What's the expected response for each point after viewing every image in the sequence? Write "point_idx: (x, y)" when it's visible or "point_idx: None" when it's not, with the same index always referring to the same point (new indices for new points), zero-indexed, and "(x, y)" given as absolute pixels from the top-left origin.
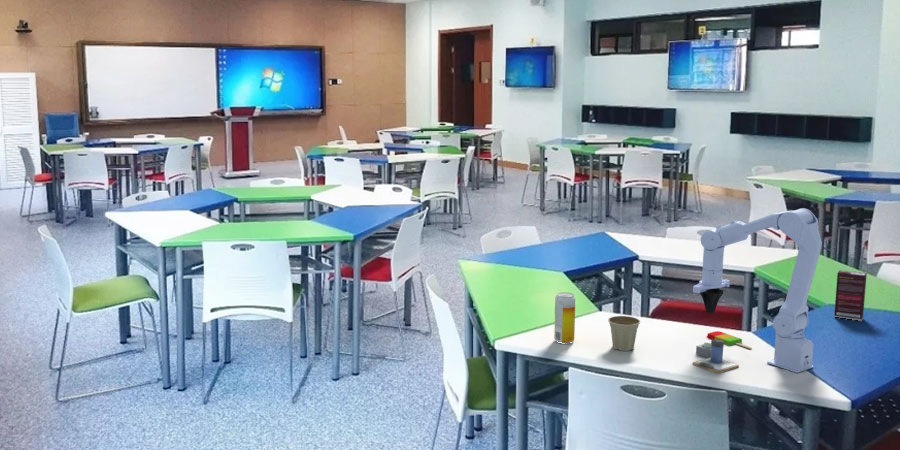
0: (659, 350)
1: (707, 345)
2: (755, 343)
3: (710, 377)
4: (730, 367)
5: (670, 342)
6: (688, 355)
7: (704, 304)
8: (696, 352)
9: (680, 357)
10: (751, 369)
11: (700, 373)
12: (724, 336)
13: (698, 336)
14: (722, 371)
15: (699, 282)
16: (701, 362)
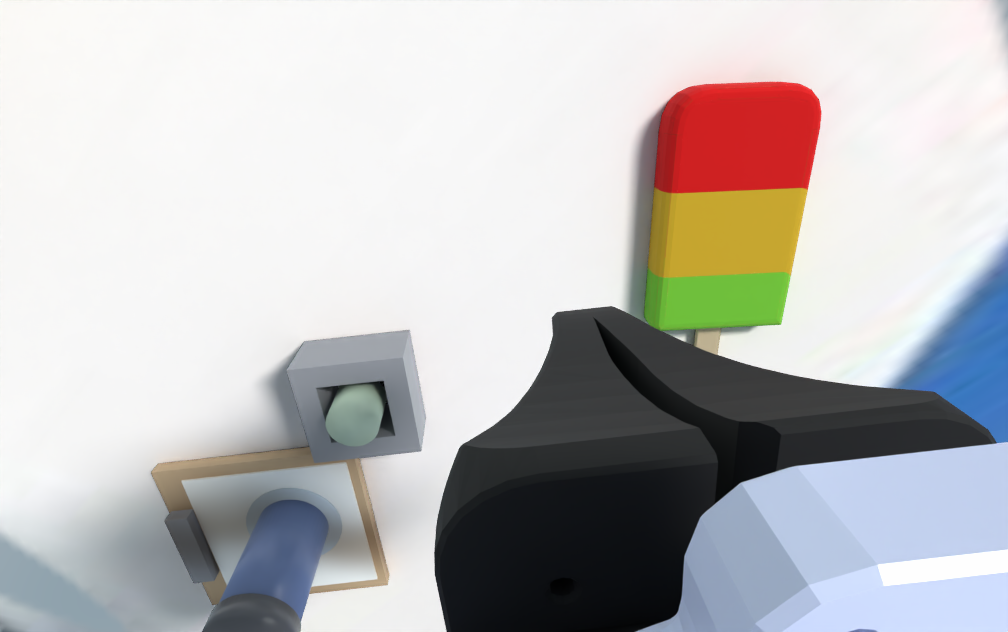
0: (61, 164)
1: (335, 437)
2: (822, 366)
3: (148, 610)
4: (319, 591)
5: (272, 43)
6: (231, 343)
7: (549, 352)
8: (302, 349)
9: (151, 348)
10: (427, 610)
11: (126, 563)
12: (724, 235)
13: (623, 39)
14: None
15: (710, 560)
16: (178, 523)
